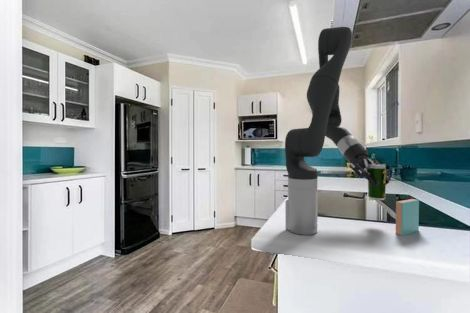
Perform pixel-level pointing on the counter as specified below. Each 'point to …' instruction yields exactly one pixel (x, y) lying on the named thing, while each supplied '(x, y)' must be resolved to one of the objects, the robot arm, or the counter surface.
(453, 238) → the counter surface
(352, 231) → the counter surface
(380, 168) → the beer can
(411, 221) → the tile
